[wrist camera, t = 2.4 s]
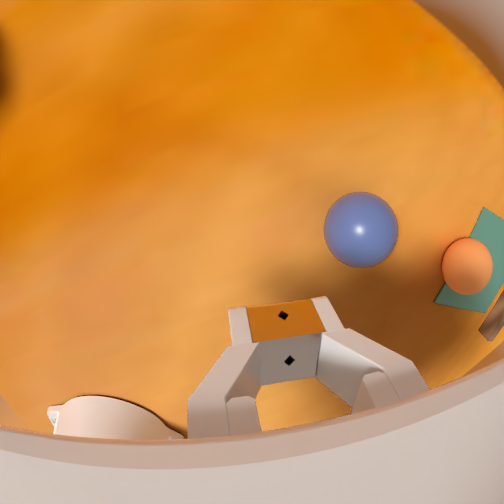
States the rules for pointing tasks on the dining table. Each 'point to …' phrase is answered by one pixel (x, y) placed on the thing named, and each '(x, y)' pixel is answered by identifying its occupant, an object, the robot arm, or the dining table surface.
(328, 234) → the blue ball
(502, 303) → the rail
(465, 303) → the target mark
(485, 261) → the orange ball
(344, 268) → the dining table surface
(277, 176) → the dining table surface
